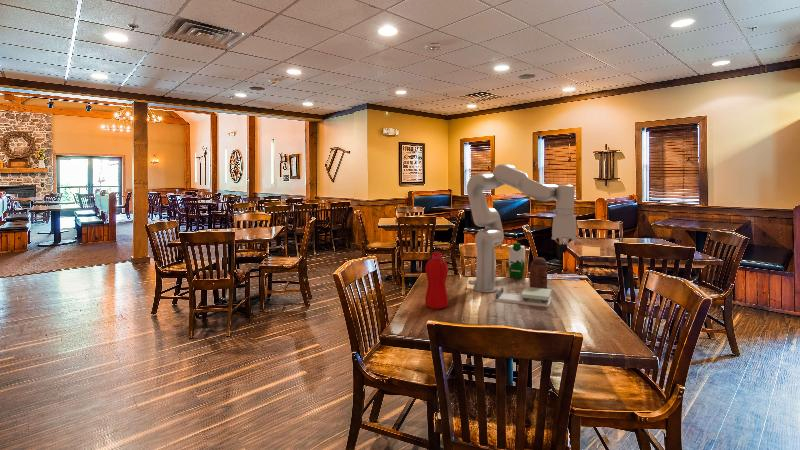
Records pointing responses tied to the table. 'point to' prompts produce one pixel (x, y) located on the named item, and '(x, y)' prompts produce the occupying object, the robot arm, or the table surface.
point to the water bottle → (436, 282)
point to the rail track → (518, 299)
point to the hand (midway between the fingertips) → (563, 252)
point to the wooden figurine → (538, 273)
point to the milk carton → (516, 260)
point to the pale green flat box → (536, 294)
